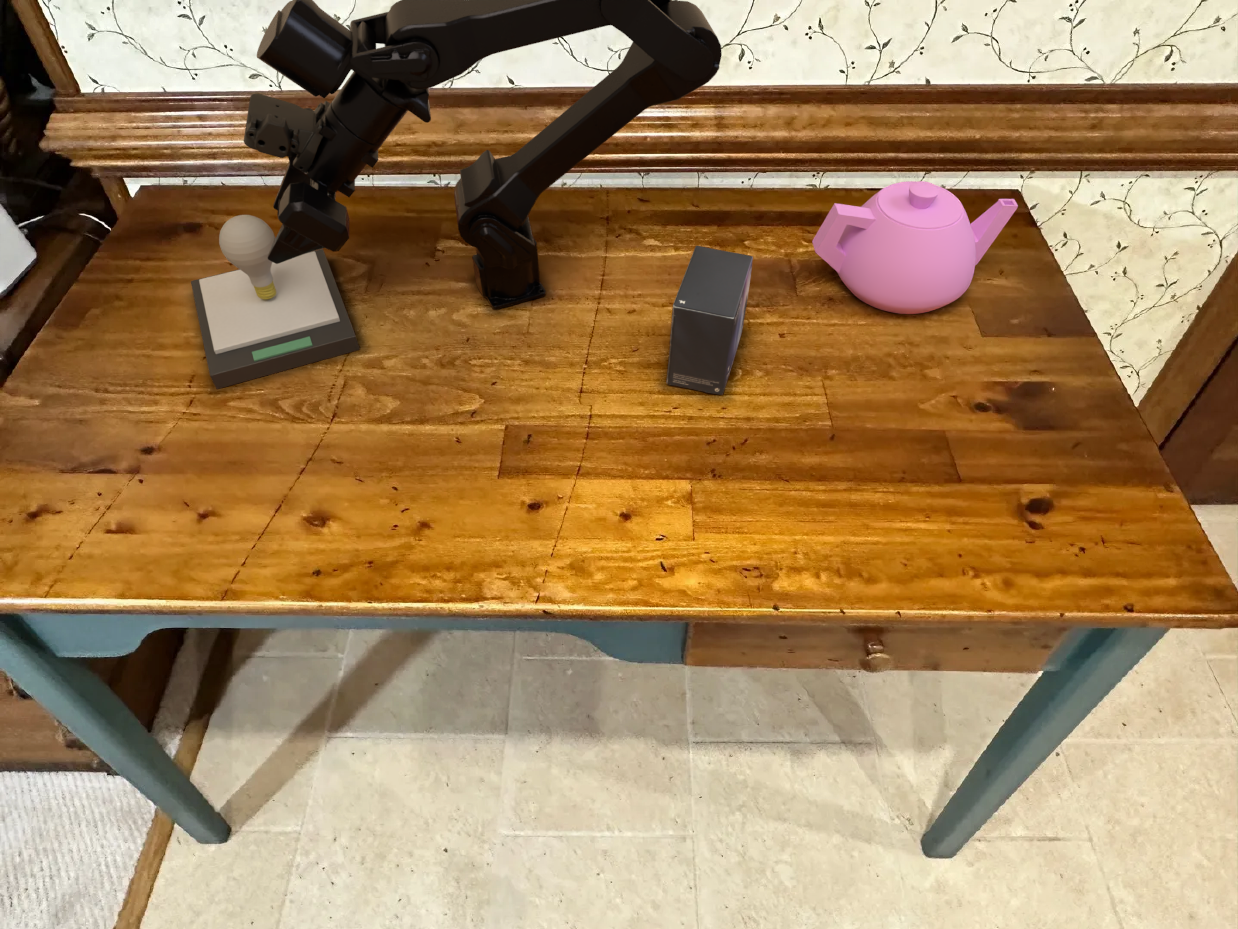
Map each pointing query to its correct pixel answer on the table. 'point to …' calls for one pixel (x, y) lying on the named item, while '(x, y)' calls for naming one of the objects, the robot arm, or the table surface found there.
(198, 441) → the table surface
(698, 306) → the small box
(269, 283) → the light bulb
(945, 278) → the teapot
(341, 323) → the scale
